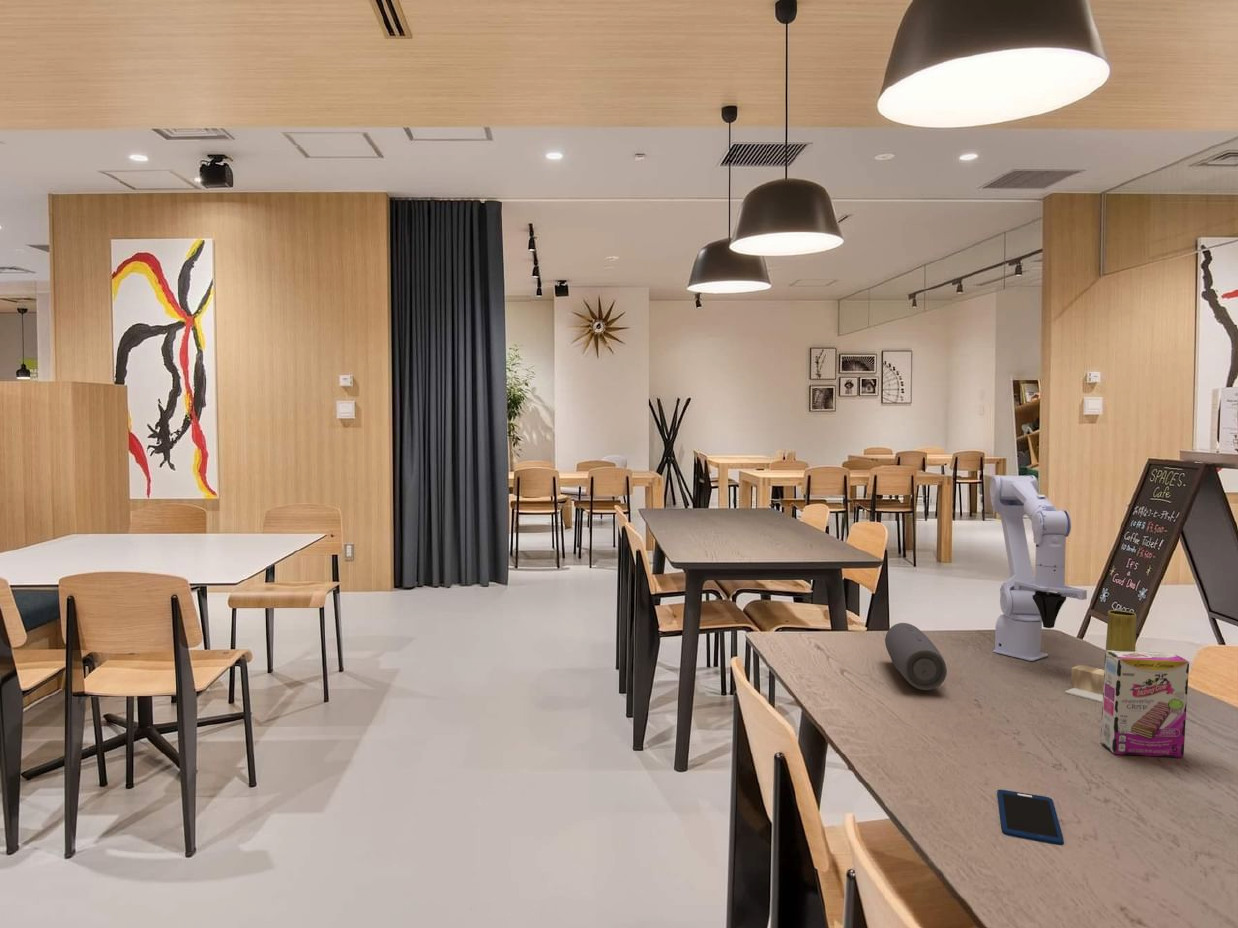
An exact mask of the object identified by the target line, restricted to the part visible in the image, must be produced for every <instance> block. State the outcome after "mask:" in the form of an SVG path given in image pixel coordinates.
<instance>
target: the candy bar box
mask: <svg viewBox="0 0 1238 928" xmlns="http://www.w3.org/2000/svg"><path fill="white" fill-rule="evenodd" d="M1104 665H1105V668H1103V670H1104V686H1103V703H1102V707H1101V708H1102V710H1101V725H1100V727H1101V728H1100V744H1101V745H1102V746H1104V747H1105V748H1106V750H1108V751H1109V752H1110V753H1112V754H1114V755H1128V756H1143V757H1144V756H1145V757H1146V756H1149V757H1167V758H1168V757H1169V758H1184V753H1185V752H1184V751H1185V737H1186V736H1185V735H1186V720H1187V704H1188V703H1187V701H1188V690H1189V689H1188V687H1189V672H1190V670H1189V669H1190V661H1189V660H1187V659H1186V658H1183V657H1181V656H1179V655H1177V654H1175V653H1172V652H1152V651H1146V652H1145V651H1136V652H1132V651H1110V650H1108V651H1106V649H1105V653H1104Z"/></svg>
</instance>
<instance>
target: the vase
mask: <svg viewBox="0 0 1238 928" xmlns="http://www.w3.org/2000/svg"><path fill="white" fill-rule="evenodd" d="M1106 625H1107V627H1106V628H1107V630H1106V638H1105V639H1106V641H1105V650H1106V651H1108V650H1110V651H1132V652H1137V651H1136V641H1137V640H1136V636H1137V635H1136V634H1137V633H1136V632H1137V614H1136V612H1133V611H1127V610H1119V609H1112V610H1111V609H1110V610H1108V611H1107V624H1106ZM1103 665H1104V668H1105V664H1103ZM1104 668H1103V669H1104Z"/></svg>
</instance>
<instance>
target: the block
mask: <svg viewBox="0 0 1238 928" xmlns="http://www.w3.org/2000/svg"><path fill="white" fill-rule="evenodd" d="M1070 677H1071V678H1070V680H1071V681H1070V687H1071V688H1077V689H1081V690H1085V691H1089V692H1093V693H1097V694H1101V695H1103V686H1104V669H1101V668H1098V667H1097V668H1096V667H1094V666H1088V665H1084V664H1078V665H1075V666H1073V667H1071V676H1070Z"/></svg>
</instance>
